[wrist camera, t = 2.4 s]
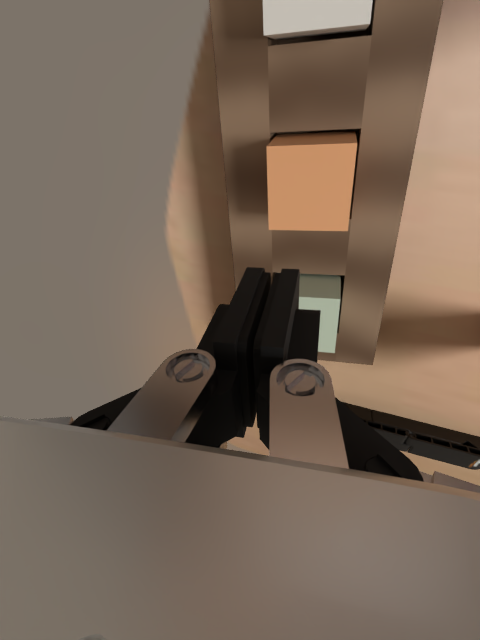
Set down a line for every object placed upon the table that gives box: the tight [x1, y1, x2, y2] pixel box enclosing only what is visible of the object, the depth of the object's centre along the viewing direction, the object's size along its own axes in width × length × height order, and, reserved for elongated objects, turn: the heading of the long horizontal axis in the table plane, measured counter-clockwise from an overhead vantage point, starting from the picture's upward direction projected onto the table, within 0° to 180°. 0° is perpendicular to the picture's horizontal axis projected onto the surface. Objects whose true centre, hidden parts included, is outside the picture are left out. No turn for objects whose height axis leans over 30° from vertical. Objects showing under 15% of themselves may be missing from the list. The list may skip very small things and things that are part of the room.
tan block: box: [267, 131, 357, 231], centre depth 23 cm, size 5×5×4 cm
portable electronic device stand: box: [342, 402, 480, 470], centre depth 39 cm, size 18×3×3 cm, turn 83°
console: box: [209, 0, 443, 365], centre depth 25 cm, size 32×12×4 cm, turn 4°
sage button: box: [299, 274, 341, 353], centre depth 29 cm, size 5×5×4 cm
